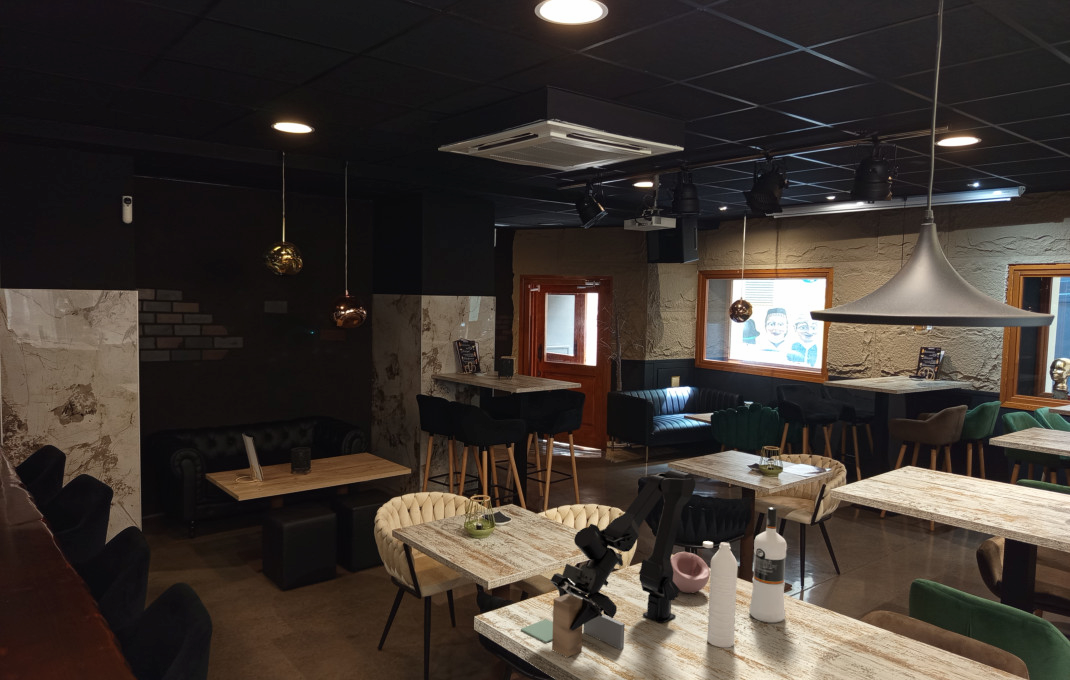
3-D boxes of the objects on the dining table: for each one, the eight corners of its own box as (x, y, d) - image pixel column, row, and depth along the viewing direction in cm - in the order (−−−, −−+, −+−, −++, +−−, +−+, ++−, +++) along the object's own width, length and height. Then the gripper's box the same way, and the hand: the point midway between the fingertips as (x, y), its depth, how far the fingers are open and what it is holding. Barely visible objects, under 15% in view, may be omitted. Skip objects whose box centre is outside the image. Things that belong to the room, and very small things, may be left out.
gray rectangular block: (586, 630, 180) (587, 607, 180) (623, 648, 172) (624, 623, 172) (583, 632, 180) (584, 609, 179) (620, 649, 171) (621, 625, 171)
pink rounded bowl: (682, 601, 201) (683, 562, 200) (659, 586, 212) (660, 548, 211) (717, 596, 205) (718, 557, 205) (692, 581, 216) (694, 544, 216)
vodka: (792, 621, 190) (797, 510, 189) (765, 626, 187) (770, 513, 185) (768, 607, 199) (773, 501, 198) (741, 612, 195) (746, 504, 194)
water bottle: (729, 636, 180) (734, 539, 179) (737, 648, 174) (742, 547, 173) (695, 635, 180) (699, 538, 179) (702, 647, 173) (706, 546, 172)
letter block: (566, 643, 173) (568, 593, 173) (582, 651, 170) (583, 599, 169) (552, 650, 170) (553, 598, 169) (567, 658, 166) (569, 605, 165)
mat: (545, 620, 186) (546, 618, 186) (571, 632, 179) (571, 630, 179) (520, 630, 180) (520, 628, 180) (546, 643, 173) (546, 641, 173)
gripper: (557, 540, 178) (521, 594, 172) (610, 563, 164) (573, 622, 157) (578, 565, 184) (544, 618, 177) (632, 588, 169) (597, 647, 163)
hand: (563, 625), depth 168 cm, fingers closed on letter block, 5 cm apart
